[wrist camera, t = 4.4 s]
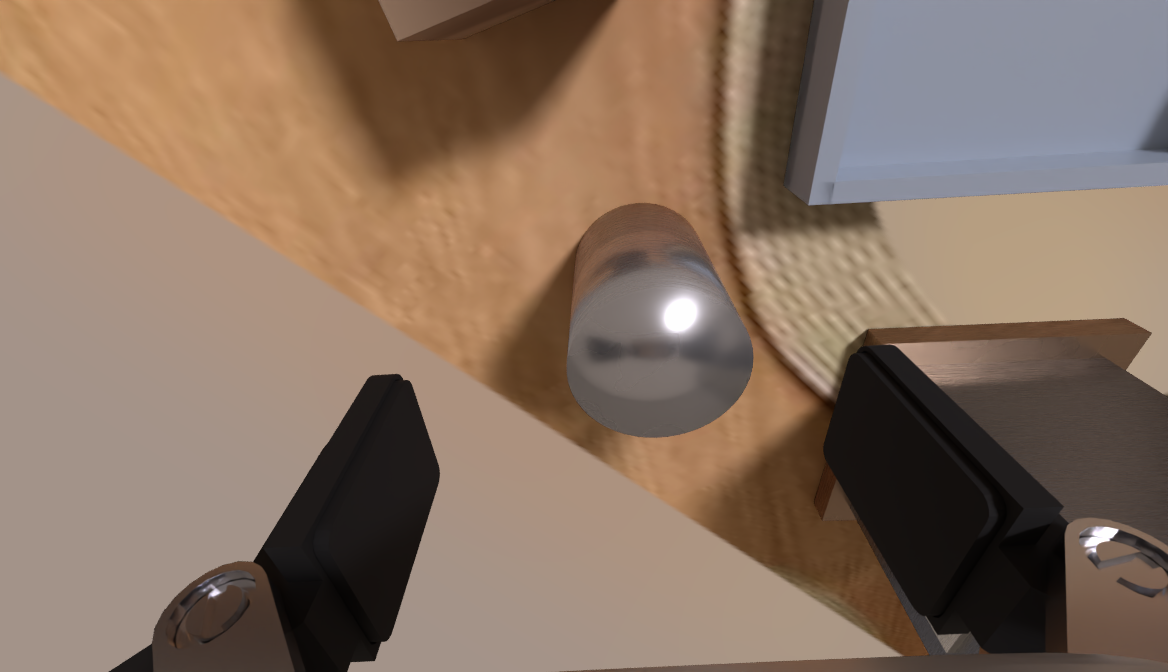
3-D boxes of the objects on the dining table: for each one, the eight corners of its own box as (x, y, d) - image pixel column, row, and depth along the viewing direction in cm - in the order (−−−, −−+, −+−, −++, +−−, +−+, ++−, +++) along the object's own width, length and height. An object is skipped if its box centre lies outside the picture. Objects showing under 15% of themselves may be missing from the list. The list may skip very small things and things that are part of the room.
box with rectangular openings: (1124, 318, 17) (1680, 616, 8) (1006, 498, 22) (1267, 792, 14) (868, 329, 17) (1142, 623, 9) (813, 502, 23) (948, 790, 14)
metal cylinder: (707, 198, 15) (766, 283, 10) (698, 317, 17) (741, 434, 12) (570, 207, 15) (558, 293, 10) (579, 323, 17) (573, 440, 12)
